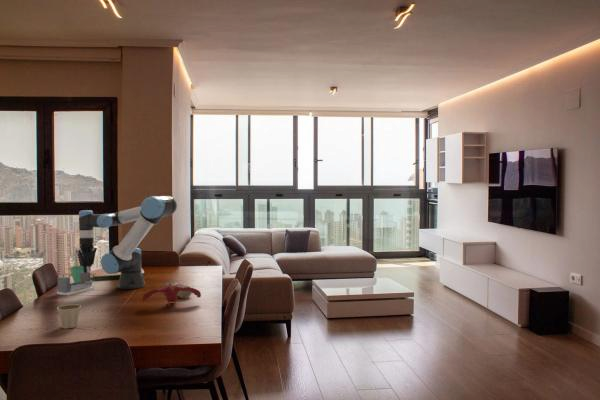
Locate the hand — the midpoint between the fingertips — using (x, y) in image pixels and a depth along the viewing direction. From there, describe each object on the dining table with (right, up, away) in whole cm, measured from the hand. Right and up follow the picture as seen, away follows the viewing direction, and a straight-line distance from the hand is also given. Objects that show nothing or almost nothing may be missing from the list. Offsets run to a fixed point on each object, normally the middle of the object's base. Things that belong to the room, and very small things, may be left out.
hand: (87, 277), depth 293 cm
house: (+4, -6, +38) cm, 39 cm away
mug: (-11, -6, +17) cm, 22 cm away
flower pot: (+24, -10, -74) cm, 79 cm away
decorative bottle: (+56, -7, -14) cm, 58 cm away
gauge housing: (-3, -7, -7) cm, 10 cm away
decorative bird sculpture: (+59, -8, -39) cm, 71 cm away
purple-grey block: (-1, -5, -3) cm, 6 cm away
